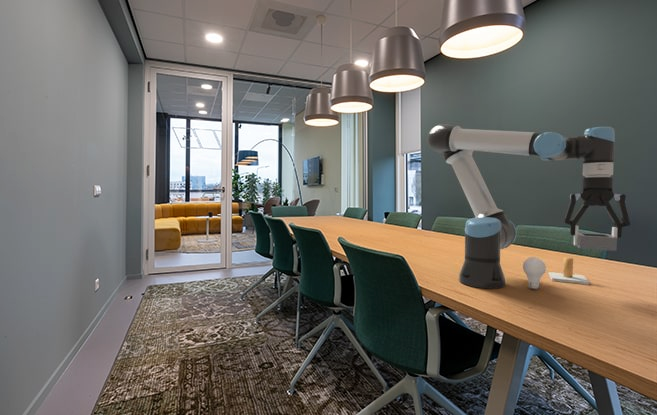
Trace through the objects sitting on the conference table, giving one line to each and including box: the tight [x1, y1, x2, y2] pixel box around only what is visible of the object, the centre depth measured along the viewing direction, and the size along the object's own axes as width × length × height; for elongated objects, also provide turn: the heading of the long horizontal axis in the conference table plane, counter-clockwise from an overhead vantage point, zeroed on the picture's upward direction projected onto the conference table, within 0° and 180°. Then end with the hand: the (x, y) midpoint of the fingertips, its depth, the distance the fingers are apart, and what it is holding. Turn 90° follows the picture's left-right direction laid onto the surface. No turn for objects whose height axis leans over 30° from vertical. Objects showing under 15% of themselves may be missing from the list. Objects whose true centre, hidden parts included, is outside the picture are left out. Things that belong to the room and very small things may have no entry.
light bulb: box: [522, 257, 547, 291], centre depth 109 cm, size 7×7×11 cm
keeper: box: [548, 257, 590, 285], centre depth 122 cm, size 11×10×8 cm
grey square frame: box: [576, 232, 618, 252], centre depth 105 cm, size 9×9×4 cm
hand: (594, 246), depth 105 cm, fingers closed on grey square frame, 9 cm apart
